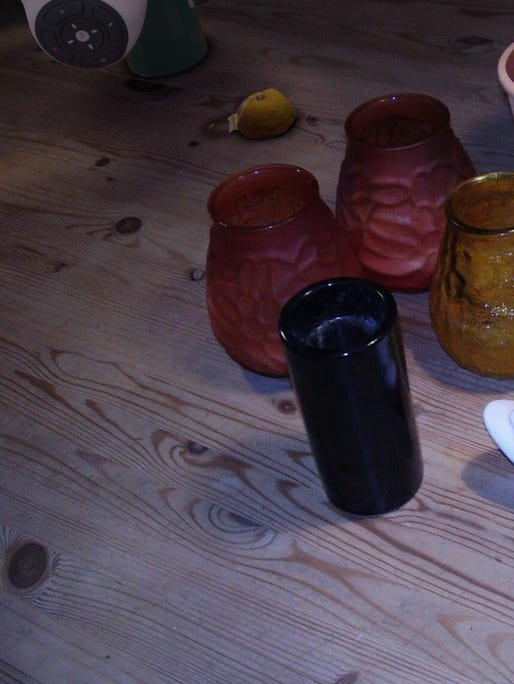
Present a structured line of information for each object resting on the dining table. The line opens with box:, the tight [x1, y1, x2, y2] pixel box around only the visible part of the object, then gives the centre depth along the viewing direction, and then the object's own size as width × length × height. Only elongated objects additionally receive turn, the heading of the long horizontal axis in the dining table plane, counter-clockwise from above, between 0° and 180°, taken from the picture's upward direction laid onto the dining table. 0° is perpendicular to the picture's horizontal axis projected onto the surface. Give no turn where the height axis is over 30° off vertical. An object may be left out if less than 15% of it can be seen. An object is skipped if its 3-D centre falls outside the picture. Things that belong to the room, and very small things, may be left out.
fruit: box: [207, 87, 297, 141], centre depth 99 cm, size 8×8×4 cm
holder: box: [124, 0, 209, 78], centre depth 108 cm, size 9×9×10 cm
